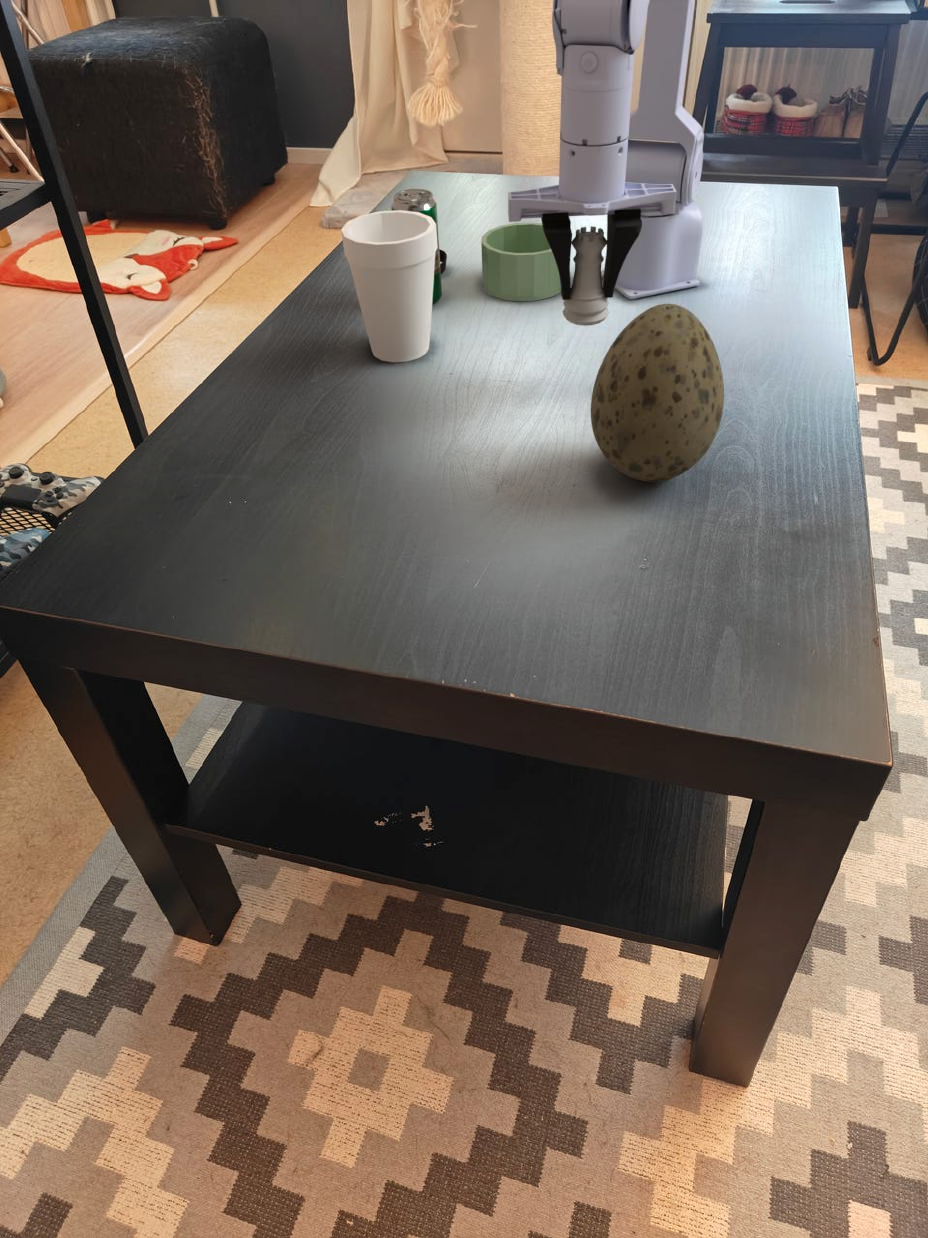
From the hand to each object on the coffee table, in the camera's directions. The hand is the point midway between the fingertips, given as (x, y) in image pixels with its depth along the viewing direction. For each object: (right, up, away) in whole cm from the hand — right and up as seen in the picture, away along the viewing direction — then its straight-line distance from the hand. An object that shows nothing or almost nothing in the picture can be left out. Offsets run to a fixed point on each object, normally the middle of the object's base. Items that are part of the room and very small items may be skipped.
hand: (586, 294), depth 84 cm
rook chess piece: (0, -2, +2) cm, 2 cm away
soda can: (-17, +7, +23) cm, 29 cm away
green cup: (-4, +10, +25) cm, 27 cm away
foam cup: (-18, -1, +14) cm, 23 cm away
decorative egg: (+5, -18, -5) cm, 19 cm away
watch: (-17, +12, +28) cm, 35 cm away
